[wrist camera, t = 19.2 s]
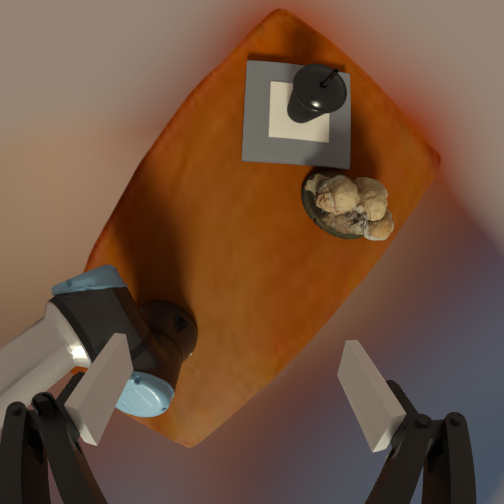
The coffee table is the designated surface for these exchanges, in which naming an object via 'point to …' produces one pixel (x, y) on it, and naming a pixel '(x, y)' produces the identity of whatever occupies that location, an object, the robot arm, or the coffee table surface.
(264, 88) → the base
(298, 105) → the drinking cup
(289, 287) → the coffee table surface
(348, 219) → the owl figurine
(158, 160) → the coffee table surface
